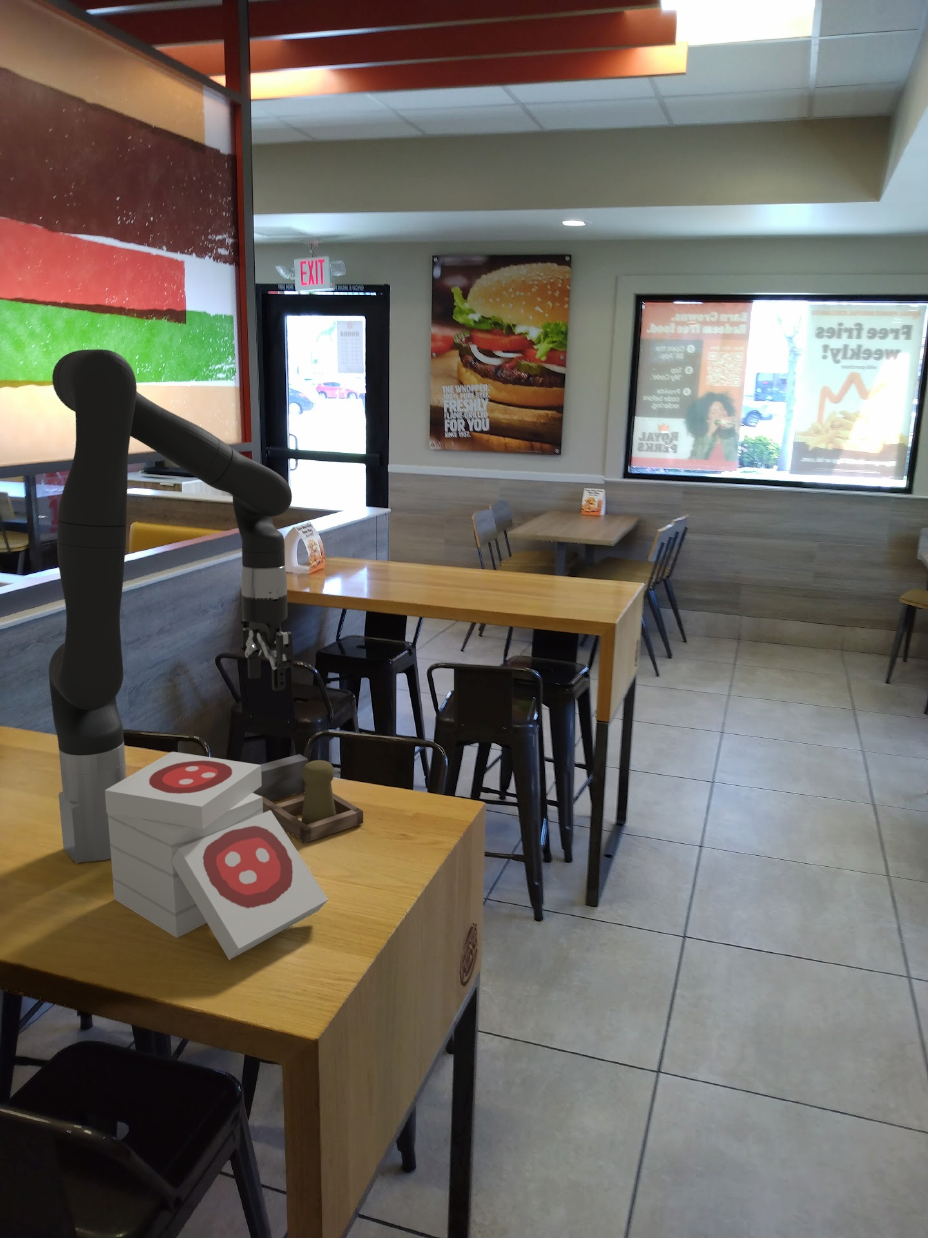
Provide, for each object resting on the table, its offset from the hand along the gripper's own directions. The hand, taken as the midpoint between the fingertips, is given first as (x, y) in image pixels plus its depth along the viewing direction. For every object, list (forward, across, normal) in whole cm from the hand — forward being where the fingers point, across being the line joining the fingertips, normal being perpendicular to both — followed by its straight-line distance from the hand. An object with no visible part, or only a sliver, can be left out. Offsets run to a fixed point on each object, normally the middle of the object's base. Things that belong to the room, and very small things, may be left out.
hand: (266, 683), depth 159 cm
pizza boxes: (+21, +28, -24) cm, 43 cm away
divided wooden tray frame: (+21, +10, +1) cm, 23 cm away
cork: (+21, +15, +1) cm, 26 cm away
